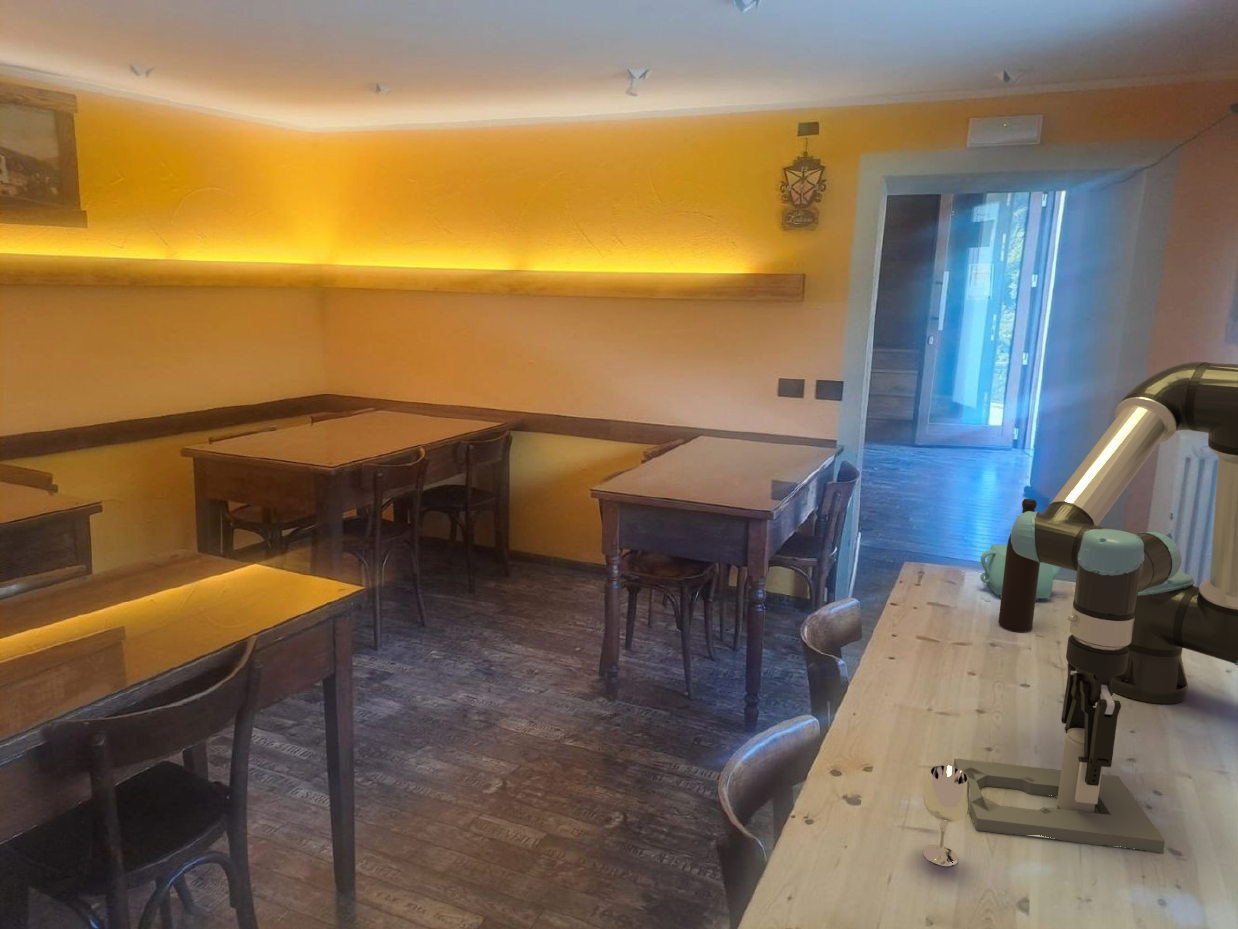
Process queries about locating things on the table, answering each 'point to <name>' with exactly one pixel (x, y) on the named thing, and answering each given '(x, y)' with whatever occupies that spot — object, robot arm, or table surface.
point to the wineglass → (945, 806)
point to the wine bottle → (1019, 586)
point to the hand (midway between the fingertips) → (1078, 788)
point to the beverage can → (1072, 772)
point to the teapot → (996, 572)
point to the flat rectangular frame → (1112, 827)
